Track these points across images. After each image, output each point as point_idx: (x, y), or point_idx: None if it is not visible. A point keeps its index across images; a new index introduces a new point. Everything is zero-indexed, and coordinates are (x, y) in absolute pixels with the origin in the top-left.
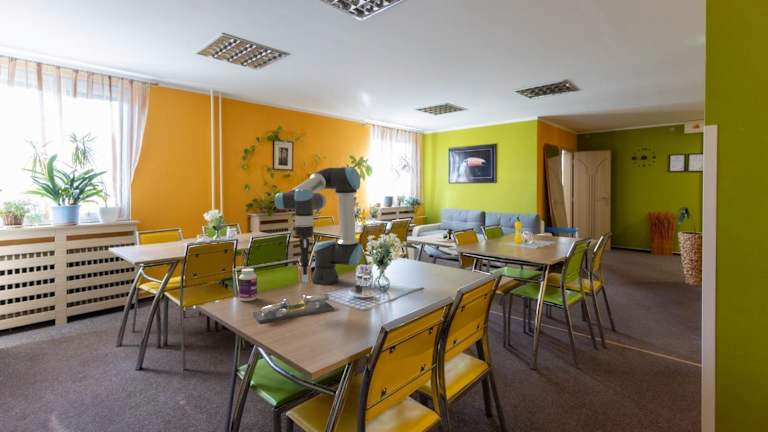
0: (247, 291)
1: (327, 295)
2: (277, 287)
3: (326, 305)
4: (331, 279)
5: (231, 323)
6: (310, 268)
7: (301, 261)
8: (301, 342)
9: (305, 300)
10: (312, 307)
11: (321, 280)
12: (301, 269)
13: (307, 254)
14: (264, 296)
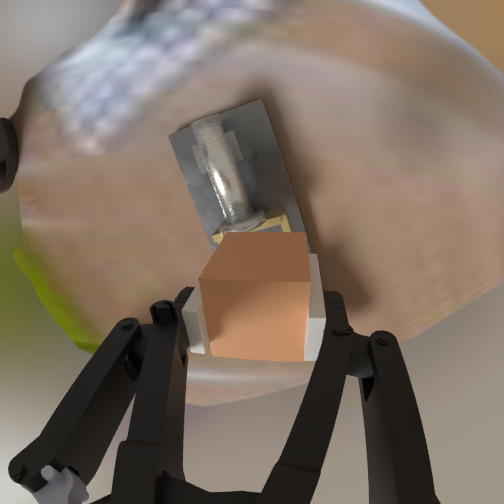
0: None
1: (212, 120)
2: (45, 279)
3: (232, 126)
4: (4, 135)
5: (309, 380)
6: (310, 285)
7: (186, 361)
8: (486, 240)
9: (264, 221)
10: (248, 182)
11: (8, 165)
12: (304, 342)
13: (419, 429)
14: (108, 315)
